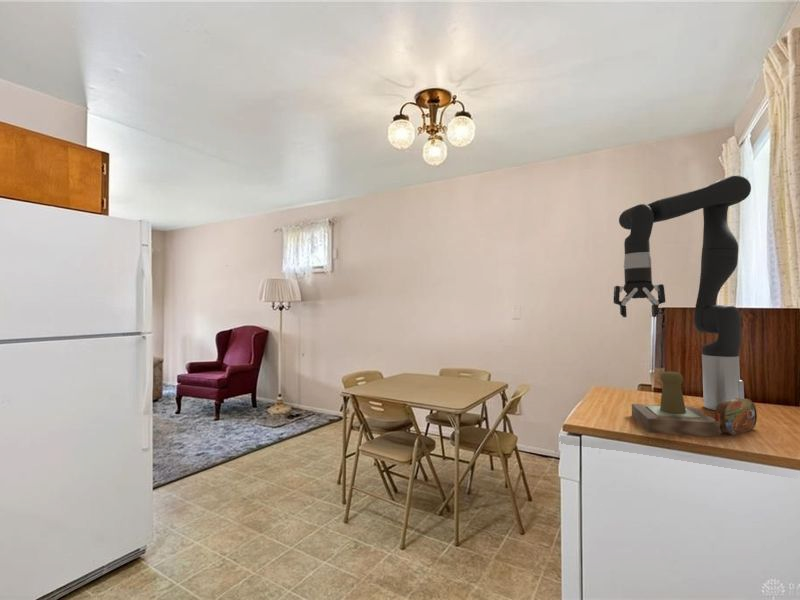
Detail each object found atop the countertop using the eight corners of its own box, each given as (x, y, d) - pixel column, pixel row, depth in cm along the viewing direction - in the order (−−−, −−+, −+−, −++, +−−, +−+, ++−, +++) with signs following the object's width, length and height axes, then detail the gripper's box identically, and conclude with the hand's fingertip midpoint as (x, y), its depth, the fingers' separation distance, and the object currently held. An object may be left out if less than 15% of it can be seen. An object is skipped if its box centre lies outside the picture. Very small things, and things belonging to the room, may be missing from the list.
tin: (727, 437, 97) (725, 404, 98) (713, 433, 100) (711, 401, 100) (759, 428, 103) (757, 397, 104) (744, 425, 106) (743, 395, 106)
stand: (693, 418, 113) (692, 405, 113) (720, 436, 98) (719, 421, 98) (631, 415, 118) (631, 402, 118) (648, 432, 102) (648, 417, 103)
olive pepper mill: (673, 407, 111) (672, 369, 111) (691, 413, 105) (690, 373, 105) (654, 408, 110) (653, 370, 111) (671, 414, 104) (670, 374, 105)
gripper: (615, 267, 123) (617, 317, 123) (667, 265, 119) (669, 317, 119) (610, 269, 130) (612, 317, 130) (658, 267, 126) (660, 316, 126)
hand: (639, 317), depth 124 cm, fingers open, 8 cm apart
